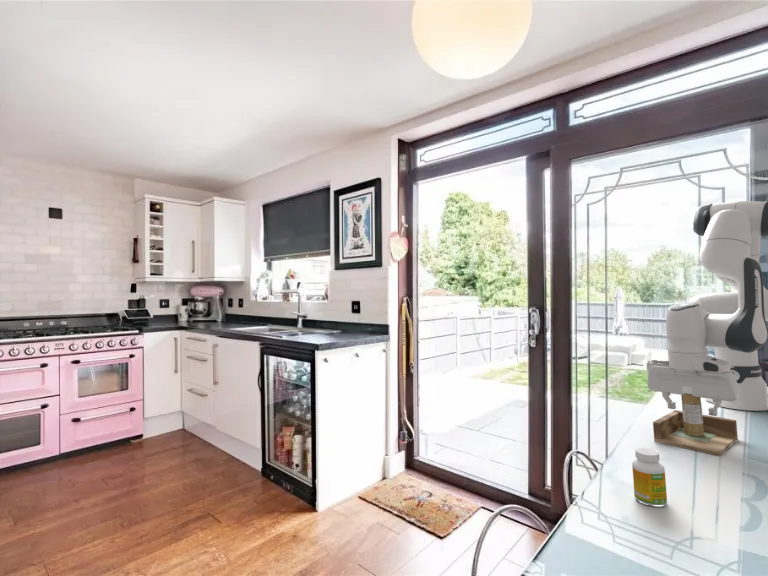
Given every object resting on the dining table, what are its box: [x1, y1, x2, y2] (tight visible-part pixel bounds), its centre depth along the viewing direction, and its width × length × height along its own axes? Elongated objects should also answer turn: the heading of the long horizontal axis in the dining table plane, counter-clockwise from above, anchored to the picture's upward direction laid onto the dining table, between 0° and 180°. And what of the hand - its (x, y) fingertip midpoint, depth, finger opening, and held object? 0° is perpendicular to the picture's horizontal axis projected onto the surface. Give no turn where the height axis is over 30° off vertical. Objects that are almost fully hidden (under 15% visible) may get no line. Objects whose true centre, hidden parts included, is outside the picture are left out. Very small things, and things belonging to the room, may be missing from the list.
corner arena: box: [652, 409, 739, 456], centre depth 108 cm, size 16×14×5 cm
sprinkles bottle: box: [680, 386, 704, 436], centre depth 110 cm, size 5×5×13 cm
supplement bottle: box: [631, 447, 668, 506], centre depth 79 cm, size 5×5×10 cm
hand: (691, 411), depth 110 cm, fingers open, 8 cm apart
